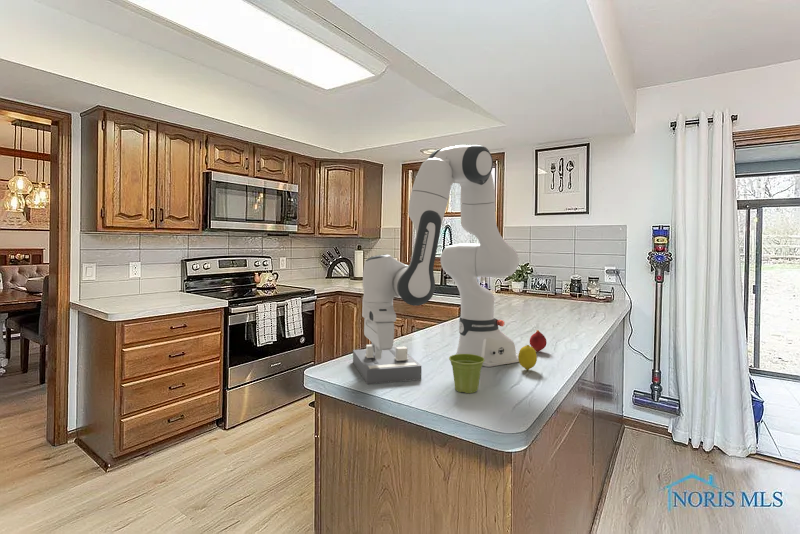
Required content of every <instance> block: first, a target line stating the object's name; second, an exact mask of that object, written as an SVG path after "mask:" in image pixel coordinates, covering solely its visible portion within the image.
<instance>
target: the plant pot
mask: <svg viewBox="0 0 800 534" xmlns="http://www.w3.org/2000/svg"><path fill="white" fill-rule="evenodd" d="M448 359H449V361H450V364H451V367H452V374H453V375H452V376H453V382H454V389H455V391H457V392H458V393H465V394H474V393H476V392H477V391H478V390H479V385H480V378H481V372H482V371H481V370H482V367H483V366H482V365H483V362H484V361H485V359H484V358H483V357H481V356H478V355H473V354H452V355H450V356H449V357H448Z"/></svg>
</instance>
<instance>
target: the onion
mask: <svg viewBox="0 0 800 534" xmlns="http://www.w3.org/2000/svg"><path fill="white" fill-rule="evenodd" d="M529 346H531V347H532V348H534V350H535V351H536V353H538V352H541V351H542V350H543V349H545V347H546V346H547V339H546V337H545V335H544V334H543V333H542V332H540V330H539V329H536V332H534V333H532V335H531V336H530V338H529Z"/></svg>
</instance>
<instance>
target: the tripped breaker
mask: <svg viewBox="0 0 800 534" xmlns="http://www.w3.org/2000/svg"><path fill="white" fill-rule="evenodd" d="M365 349H366V355H365V356H366V358H374V357H373V349H372V343H371V344H366V345H365Z"/></svg>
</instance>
